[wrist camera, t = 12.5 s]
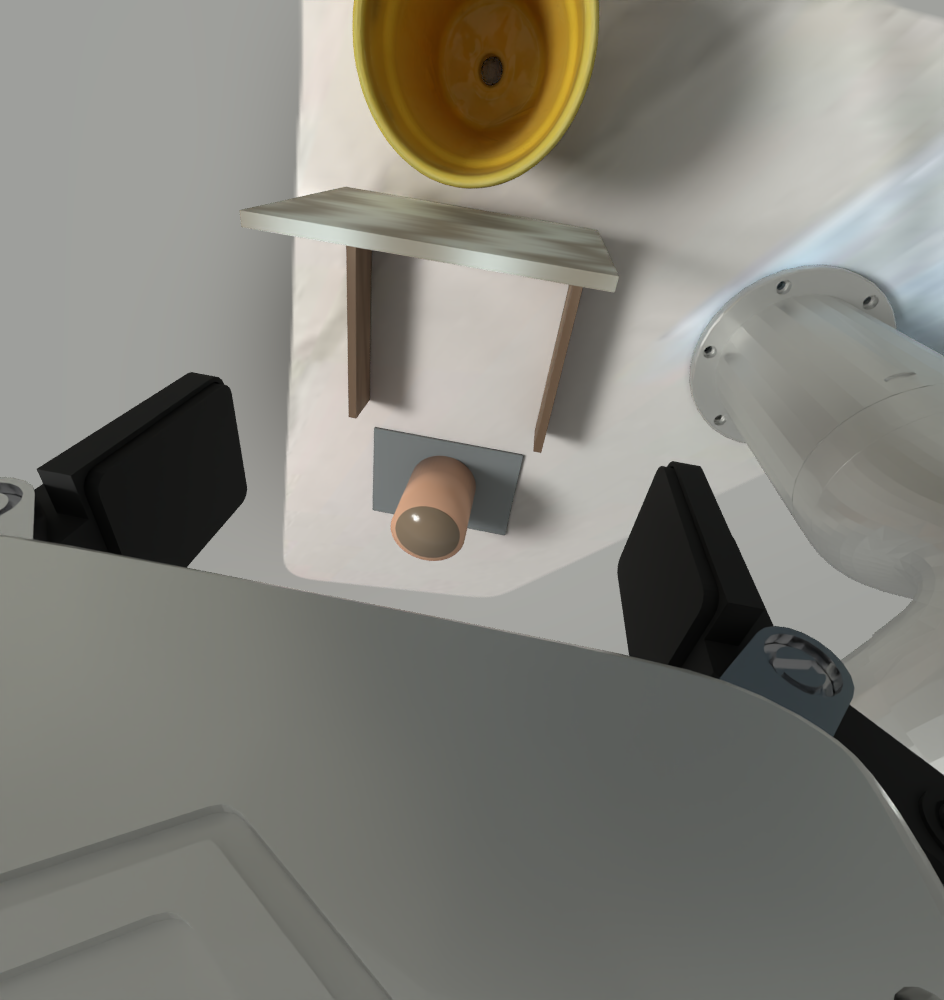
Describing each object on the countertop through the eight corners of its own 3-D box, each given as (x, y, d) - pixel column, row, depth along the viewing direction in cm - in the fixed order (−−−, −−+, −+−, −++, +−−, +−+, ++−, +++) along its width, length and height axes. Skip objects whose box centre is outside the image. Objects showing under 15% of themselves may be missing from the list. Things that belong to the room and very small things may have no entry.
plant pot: (554, 195, 32) (554, 213, 24) (396, 155, 32) (343, 159, 24) (615, -36, 26) (641, -114, 18) (418, -87, 26) (357, -188, 18)
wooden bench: (593, 222, 32) (619, 276, 19) (542, 431, 41) (536, 562, 29) (363, 182, 33) (239, 210, 20) (362, 398, 42) (277, 512, 29)
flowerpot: (480, 462, 44) (469, 510, 38) (471, 516, 47) (459, 567, 42) (413, 450, 44) (391, 496, 38) (409, 504, 47) (389, 554, 42)
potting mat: (523, 454, 43) (523, 455, 43) (505, 534, 48) (504, 535, 48) (375, 427, 43) (374, 428, 43) (373, 508, 49) (372, 510, 48)
